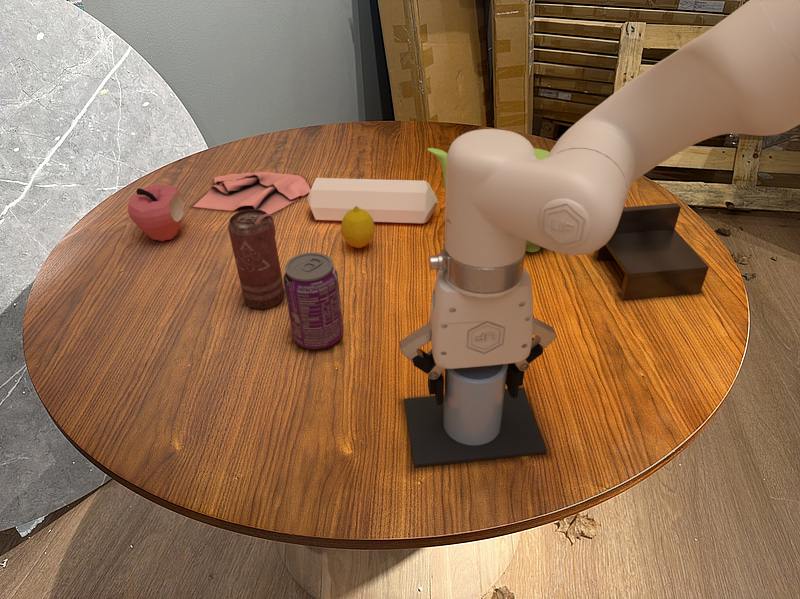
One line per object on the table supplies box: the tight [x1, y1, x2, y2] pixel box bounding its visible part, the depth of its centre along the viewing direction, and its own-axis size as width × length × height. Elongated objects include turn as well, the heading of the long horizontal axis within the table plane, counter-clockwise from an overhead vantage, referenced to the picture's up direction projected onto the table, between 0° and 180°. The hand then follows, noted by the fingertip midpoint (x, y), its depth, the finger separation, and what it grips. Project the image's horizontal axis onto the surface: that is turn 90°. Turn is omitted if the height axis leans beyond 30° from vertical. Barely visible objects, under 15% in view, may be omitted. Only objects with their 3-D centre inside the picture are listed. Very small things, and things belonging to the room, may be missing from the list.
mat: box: [403, 386, 548, 469], centre depth 73 cm, size 15×10×1 cm, turn 96°
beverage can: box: [282, 252, 344, 350], centre depth 83 cm, size 7×7×12 cm
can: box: [227, 209, 286, 310], centre depth 90 cm, size 6×6×14 cm
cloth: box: [192, 171, 311, 215], centre depth 121 cm, size 20×22×2 cm
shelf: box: [593, 202, 710, 301], centre depth 94 cm, size 12×12×9 cm
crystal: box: [306, 177, 439, 224], centre depth 112 cm, size 7×7×24 cm
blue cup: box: [443, 364, 508, 446], centre depth 70 cm, size 7×7×10 cm
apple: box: [127, 183, 185, 242], centre depth 106 cm, size 10×9×10 cm
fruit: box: [340, 206, 376, 249], centre depth 102 cm, size 6×6×8 cm
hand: (474, 391), depth 69 cm, fingers open, 7 cm apart
